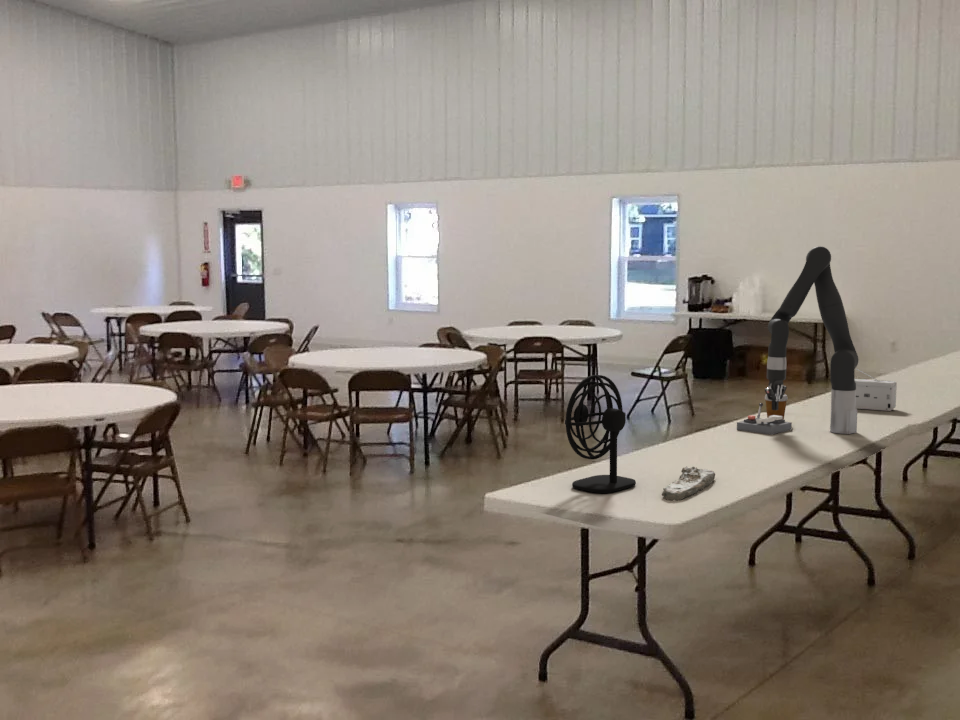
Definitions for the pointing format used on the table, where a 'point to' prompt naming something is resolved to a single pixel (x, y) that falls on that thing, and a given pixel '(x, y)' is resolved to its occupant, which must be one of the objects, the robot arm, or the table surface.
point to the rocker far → (765, 420)
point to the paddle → (776, 417)
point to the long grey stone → (688, 483)
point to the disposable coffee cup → (780, 407)
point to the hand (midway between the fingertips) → (774, 410)
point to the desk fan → (611, 423)
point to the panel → (764, 426)
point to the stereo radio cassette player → (875, 394)
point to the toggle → (759, 410)
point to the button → (751, 417)
